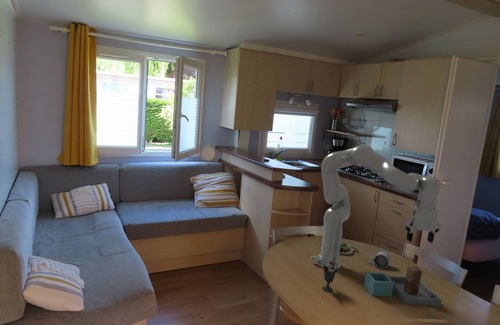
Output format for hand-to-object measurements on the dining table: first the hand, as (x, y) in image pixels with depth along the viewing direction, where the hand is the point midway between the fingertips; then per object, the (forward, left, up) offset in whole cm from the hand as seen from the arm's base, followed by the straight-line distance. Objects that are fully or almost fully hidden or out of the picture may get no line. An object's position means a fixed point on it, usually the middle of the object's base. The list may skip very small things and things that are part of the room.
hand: (419, 241), depth 156 cm
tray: (0, 0, -26) cm, 26 cm away
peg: (0, 0, -25) cm, 25 cm away
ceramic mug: (-2, +28, -26) cm, 38 cm away
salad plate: (-19, +48, -26) cm, 58 cm away
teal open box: (-16, 0, -26) cm, 30 cm away
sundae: (-39, +1, -26) cm, 47 cm away
